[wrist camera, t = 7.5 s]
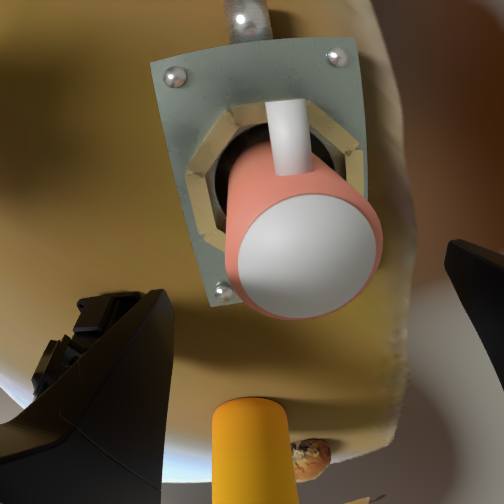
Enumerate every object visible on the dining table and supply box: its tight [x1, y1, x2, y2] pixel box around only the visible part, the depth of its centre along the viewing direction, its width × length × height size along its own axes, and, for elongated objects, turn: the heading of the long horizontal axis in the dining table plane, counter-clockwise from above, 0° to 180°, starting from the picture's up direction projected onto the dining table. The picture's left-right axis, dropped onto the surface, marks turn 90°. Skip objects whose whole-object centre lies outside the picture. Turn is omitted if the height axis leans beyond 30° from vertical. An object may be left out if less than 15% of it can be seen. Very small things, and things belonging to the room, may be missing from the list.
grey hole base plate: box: [150, 0, 368, 307], centre depth 16 cm, size 19×11×4 cm, turn 9°
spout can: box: [225, 98, 383, 321], centre depth 12 cm, size 7×5×8 cm
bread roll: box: [290, 440, 331, 482], centre depth 40 cm, size 10×10×8 cm
